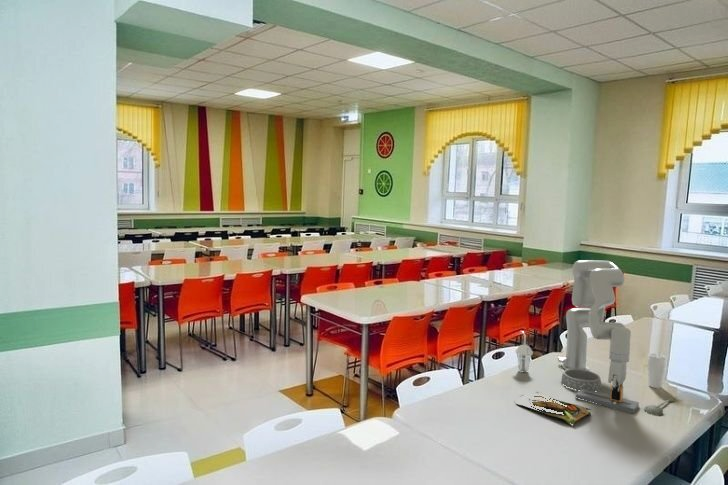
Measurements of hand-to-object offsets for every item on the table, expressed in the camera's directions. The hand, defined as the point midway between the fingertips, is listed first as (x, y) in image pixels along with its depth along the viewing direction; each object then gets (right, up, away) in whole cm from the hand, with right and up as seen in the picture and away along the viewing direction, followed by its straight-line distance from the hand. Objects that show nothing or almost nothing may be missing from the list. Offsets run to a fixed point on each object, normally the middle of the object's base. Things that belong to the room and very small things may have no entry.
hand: (616, 397), depth 212 cm
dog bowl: (-5, -2, +23) cm, 24 cm away
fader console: (-3, -3, +3) cm, 5 cm away
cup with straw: (-27, +1, +40) cm, 48 cm away
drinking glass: (+29, -2, +22) cm, 36 cm away
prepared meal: (-29, -4, -4) cm, 30 cm away
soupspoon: (+18, -4, -2) cm, 18 cm away
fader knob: (0, -1, 0) cm, 1 cm away
